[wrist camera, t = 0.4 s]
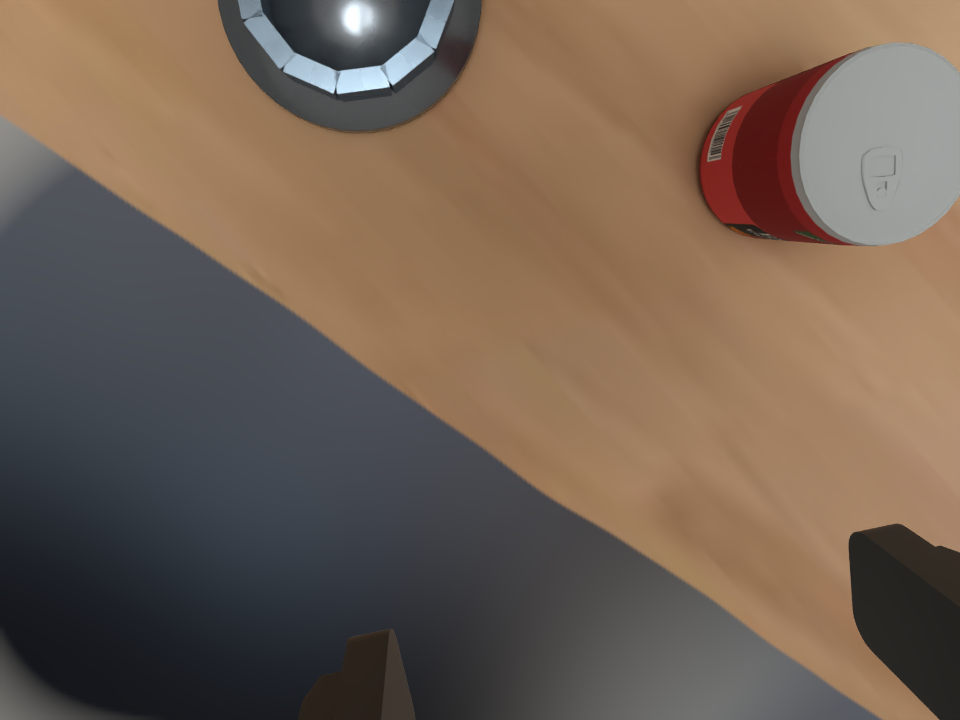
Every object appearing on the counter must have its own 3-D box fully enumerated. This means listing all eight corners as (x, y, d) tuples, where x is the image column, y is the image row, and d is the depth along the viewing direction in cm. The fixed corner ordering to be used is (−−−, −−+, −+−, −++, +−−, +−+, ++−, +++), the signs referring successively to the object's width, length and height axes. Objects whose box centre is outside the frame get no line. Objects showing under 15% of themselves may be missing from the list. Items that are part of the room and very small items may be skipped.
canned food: (715, 257, 39) (824, 273, 28) (676, 119, 37) (776, 80, 26) (840, 210, 39) (997, 208, 28) (808, 69, 37) (961, 11, 26)
